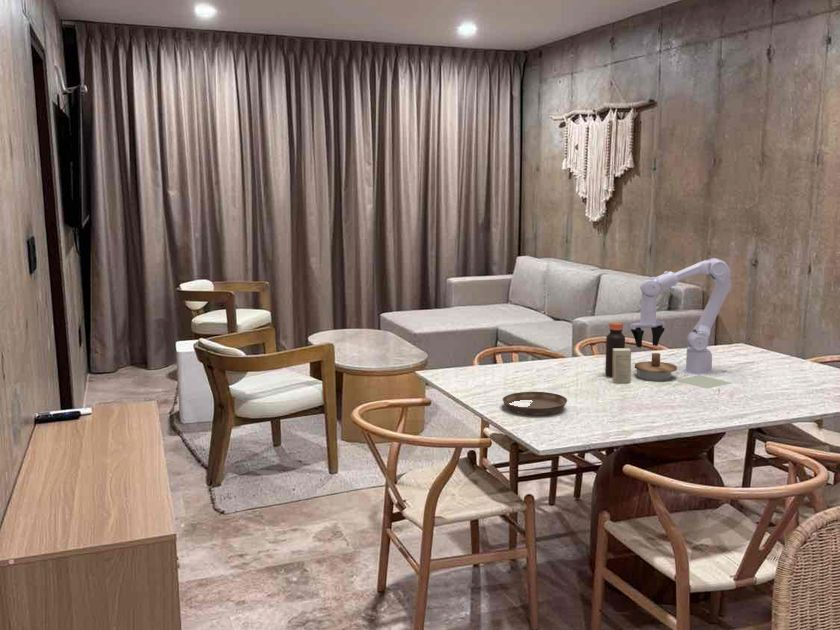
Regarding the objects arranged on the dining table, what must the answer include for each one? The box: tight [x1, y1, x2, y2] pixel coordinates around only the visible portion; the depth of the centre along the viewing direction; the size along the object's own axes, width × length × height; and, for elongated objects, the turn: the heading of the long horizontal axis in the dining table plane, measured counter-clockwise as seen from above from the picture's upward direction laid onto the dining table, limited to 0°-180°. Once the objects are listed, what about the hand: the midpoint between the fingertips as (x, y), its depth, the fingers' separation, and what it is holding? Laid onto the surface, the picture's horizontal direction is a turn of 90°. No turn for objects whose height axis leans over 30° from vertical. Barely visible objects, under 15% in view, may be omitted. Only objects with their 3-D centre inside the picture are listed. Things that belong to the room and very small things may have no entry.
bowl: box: [635, 369, 672, 382], centre depth 291 cm, size 12×12×4 cm
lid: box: [634, 352, 678, 373], centre depth 290 cm, size 15×15×5 cm
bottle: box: [604, 322, 626, 378], centre depth 294 cm, size 7×7×20 cm
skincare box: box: [611, 347, 632, 384], centre depth 285 cm, size 6×4×12 cm
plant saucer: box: [502, 391, 568, 416], centre depth 252 cm, size 21×21×3 cm
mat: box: [674, 374, 732, 389], centre depth 283 cm, size 14×14×1 cm
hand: (647, 346), depth 300 cm, fingers open, 7 cm apart
